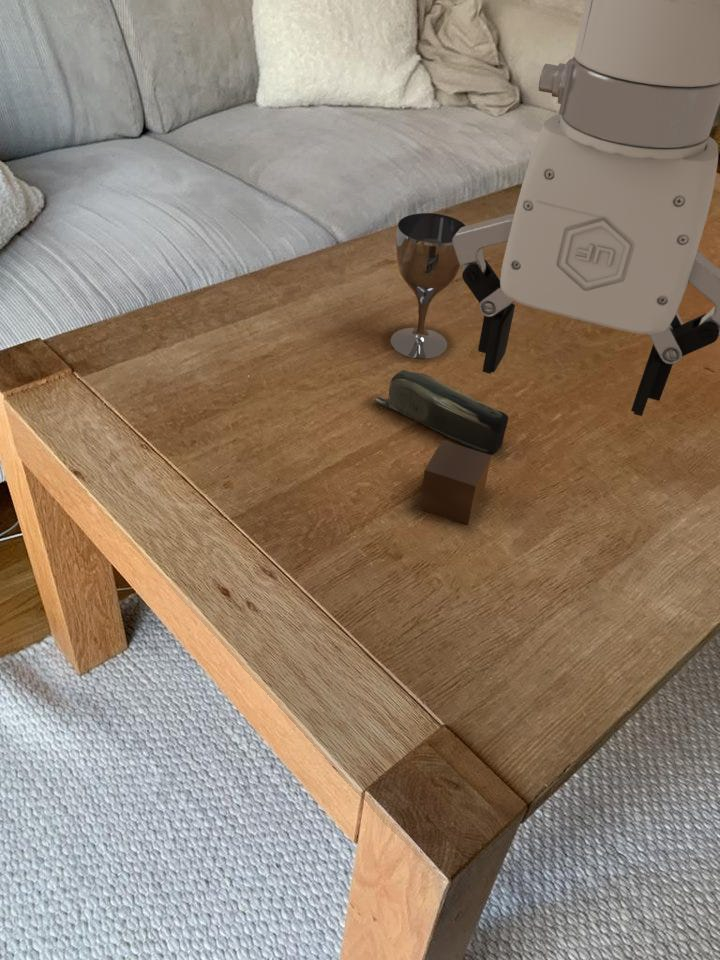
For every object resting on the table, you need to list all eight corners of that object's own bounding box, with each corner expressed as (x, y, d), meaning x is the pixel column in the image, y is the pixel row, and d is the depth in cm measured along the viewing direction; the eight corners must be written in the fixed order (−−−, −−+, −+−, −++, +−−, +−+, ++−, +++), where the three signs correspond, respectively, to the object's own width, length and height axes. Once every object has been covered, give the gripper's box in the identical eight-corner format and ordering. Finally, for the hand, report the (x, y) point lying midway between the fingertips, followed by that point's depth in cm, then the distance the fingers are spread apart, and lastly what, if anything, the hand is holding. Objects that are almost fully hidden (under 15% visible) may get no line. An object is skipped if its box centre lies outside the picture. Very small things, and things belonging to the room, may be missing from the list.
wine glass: (448, 364, 98) (466, 247, 88) (382, 355, 99) (393, 238, 89) (453, 330, 104) (470, 217, 94) (391, 322, 105) (402, 209, 95)
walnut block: (483, 493, 81) (491, 454, 78) (467, 525, 78) (475, 486, 74) (436, 478, 82) (442, 439, 79) (418, 508, 79) (424, 469, 76)
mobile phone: (513, 410, 84) (390, 356, 89) (500, 424, 82) (375, 368, 87) (503, 447, 87) (385, 393, 93) (491, 461, 85) (371, 406, 91)
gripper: (455, 94, 41) (420, 376, 53) (819, 162, 37) (695, 455, 48) (497, 60, 47) (456, 323, 58) (820, 116, 42) (708, 390, 53)
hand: (565, 382), depth 53 cm, fingers open, 9 cm apart
